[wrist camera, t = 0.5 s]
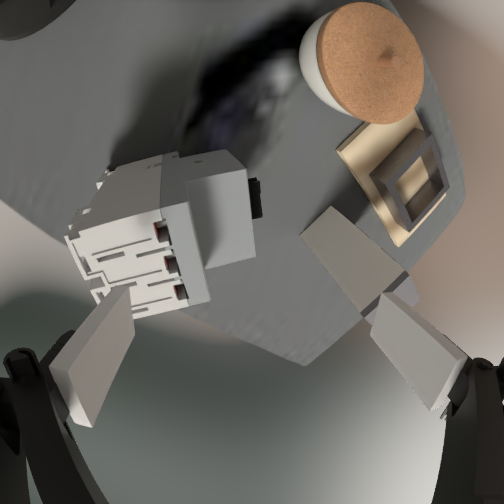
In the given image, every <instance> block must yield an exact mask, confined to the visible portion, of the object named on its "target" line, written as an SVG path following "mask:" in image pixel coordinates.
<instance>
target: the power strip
mask: <svg viewBox="0 0 504 504" xmlns="http://www.w3.org/2000/svg"><path fill="white" fill-rule="evenodd" d="M300 237H301V239H302V240H303V241H304V242H305V244H306V245H307V246H308V247H309V248H310V250H311V251H312V252H313V253H314V255H315V256H316V257H317V258H318V260H319V261H320V262H321V263H322V264H323V266H324V267H325V268H326V270H327V271H328V272H329V273H330V275H331V276H332V277H333V278H334V280H335V281H336V282H337V283H338V285H339V286H340V287H341V289H342V290H343V291H344V292H345V294H346V295H347V296H348V298H349V299H350V300H351V302H352V303H353V304H354V305H355V307H356V308H357V309H358V311H359V312H360V313H361V315H362V316H363V317H364V318H365V319H366V320H367V321H368V322H369V323H370V324H371V325H372V326H373V323H374V319H375V316H376V312H377V308H378V304H379V300H380V296H381V293H386V292H392V293H394V294H395V295H396V296H397V297H399V298H400V299H401V300H402V301H404V302H405V303H406V304H407V305H409V306H410V307H411V308H412V307H413V306H414V305H415V304H416V303H417V302H418V301H419V300H420V296H419V294H418V292H417V290H416V288H415V285H414V283H413V281H412V279H411V277H410V275H409V274H408V273H407V272H406V271H405V270H404V269H403V268H402V267H401V266H399V265H398V264H397V263H396V261H395V260H394V259H393V258H392V257H391V256H390V255H388V254H387V253H386V252H385V251H384V250H383V249H382V248H380V247H379V246H378V245H377V244H376V243H374V242H373V241H372V240H371V239H370V238H369V237H368V236H367V235H366V234H365V233H364V232H363V231H362V230H360V229H359V228H358V227H356V226H355V225H354V224H353V223H351V222H350V221H349V220H348V219H347V218H346V217H344V216H343V215H342V214H341V213H340V212H338V211H337V210H336V209H335V208H333V207H332V206H330V207H329V208H328V209H327V210H326V211H325V212H324V213H322V214H321V215H320V216H319V217H318V218H317V219H316V220H315V221H314V222H313V223H312V224H311V225H310V226H309V227H308V228H307V229H306V230H305V231H304V232H303V233H302V234H301V235H300Z"/></svg>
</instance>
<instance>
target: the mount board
mask: <svg viewBox="0 0 504 504" xmlns="http://www.w3.org/2000/svg"><path fill="white" fill-rule="evenodd" d="M414 128H418V129H421V130H423V127H422V125H421V123H420V120H419V118H418V116H417V114H416V111H415V109H413V110H412V111H411V112H410V113H409V114H408V115H407V116H406V117H404V118H403V119H401V120H399V121H398V122H395V123H392V124H385V125H382V124H374V123H370V122H364V123H363V124H362V125H361V126H360V127H359V128H358V129H357V130H356V131H355V132H354V133H353V134H352V135H351V136H350V137H349V138H348V139H346V140H345V141H344V142H343V143H342V144H341V145H340V146H339V147H338V148H337V149H336V151H337V153H338V154H339V155H340V157H341V158H342V160H343V161H344V163H345V164H346V165H347V167H348V168H349V170H350V171H351V173H352V174H353V176H354V177H355V179H356V180H357V182H358V183H359V185H360V186H361V188H362V189H363V191H364V193H365V194H366V196H367V197H368V199H369V201H370V202H371V204H372V205H373V207H374V209H375V210H376V212H377V214H378V215H379V217H380V219H381V220H382V222H383V224H384V226H385V227H386V229H387V231H388V233H389V235H390V236H391V238H392V240H393V242H394V244H395V245H397V246H398V247H400V246H401V245H402V244H403V243H404V241H405V240H406V239H407V238H408V237H409V236H410V235H411V234H412V233H413V232H414V231H415V230H416V229H417V228H418V226H419V225H420V224H421V223H422V222H423V221H424V220H425V219H426V218H427V217H428V215H429V214H430V213H431V212H432V211H433V210H434V209H435V207H436V206H437V205H438V204H439V203H440V202H441V200H442V199H443V198H444V197H445V196H446V193H444V195H443V196H442V197H441V198H440V199H439V201H438V202H437V203H436V204H435V205H434V206H433V207H432V209H431V210H430V211H429V212H428V213H427V214H426V215H425V217H424V218H423V219H422V220H421V221H420V222H419V223H418V224H417V225H416V226H415V228H414V229H413V230H412V231H411V232H410V233H408V232H407V231H406V230H405V229H403V228H402V227H401V226H399V225H398V224H397V223H395V221H394V219H393V217H392V215H391V213H390V211H389V210H388V208H387V206H386V204H385V202H384V200H383V199H382V197H381V195H380V193H379V192H378V190H377V188H376V186H375V185H374V183H373V181H372V180H371V178H370V176H369V174H370V173H371V172H372V171H373V170H374V169H375V168H376V167H377V166H378V165H379V164H380V163H381V162H382V161H383V160H384V159H385V158H386V157H387V156H388V155H389V153H390V152H391V151H392V150H393V149H394V148H395V147H396V146H397V145H398V144H399V143H400V142H401V141H402V140H403V139H404V138H405V137H406V136H407V135H408V134H409V133H410V132H411V131H412V130H413V129H414ZM428 179H429V177H428V174H427V171H426V169H425V166H424V163H423V161H422V158H421V156H420V157H419V158H418V159H417V160H416V161H415V162H414V163H413V165H412V166H411V167H410V168H409V169H408V170H407V171H406V172H405V173H404V174H403V175H402V176H401V177H400V178H399V179H398V181H397V182H396V183H395V184H394V185H395V187H396V189H397V191H398V193H399V195H400V197H401V199H402V201H403V203H404V206H405V205H406V204H407V202H408V201H409V200H410V199H411V198H412V197H413V196H414V195H415V194H416V193H417V192H418V190H419V189H420V188H421V187H422V186H423V185H424V184H425V183H426V182H427V180H428Z"/></svg>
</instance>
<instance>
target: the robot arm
mask: <svg viewBox="0 0 504 504" xmlns="http://www.w3.org/2000/svg"><path fill="white" fill-rule="evenodd" d="M74 1H75V0H0V40H7V41H11V40H17V39H21V38H24V37H27V36H29V35H31V34H33V33H35V32H37V31H39V30H40V29H42V28H44V27H45V26H47V25H48V24H49V23H51V22H52V21H54V20H55V19H56V18H57V17H59V16H60V15H61V14H62V13H63V12H64V11H65V10H66V9H67V8H68V7H69V6H70V5H71V4H72V3H73V2H74ZM134 335H135V329H134V323H133V315H132V307H131V299H130V289H129V286H119V285H115V286H114V287H113V288H112V290H111V291H110V292H109V293H108V294H107V295H106V296H105V297H104V299H103V300H102V301H101V302H100V303H99V304H98V306H97V307H96V308H95V309H94V310H93V311H92V313H91V314H90V315H89V316H88V317H87V319H86V320H85V321H84V322H83V323H82V325H81V326H80V327H79V328H78V329H77V331H74V330H70V331H68V332H66V333H65V334H63V335H62V336H61V337H60V338H59V339H58V340H57V342H56V344H54V345H53V346H52V348H51V350H49V351H48V352H47V354H46V355H45V356H44V357H43V359H42V360H41V361H40V363H39V362H38V359H37V357H36V355H35V353H34V351H33V350H31V349H29V348H18V349H15V350H12V351H11V352H9V353H8V354H7V355H6V356H5V358H4V361H3V364H4V366H5V368H6V370H7V373H8V375H9V377H10V378H2V377H0V504H30V497H29V489H28V480H27V467H26V457H27V460H28V463H29V467H30V470H31V473H32V476H33V479H34V482H35V485H36V487H37V490H38V492H39V495H40V497H41V500H42V502H43V504H109V503H108V501H107V500H106V498H105V497H104V495H103V493H102V491H101V490H100V488H99V486H98V485H97V483H96V481H95V480H94V478H93V476H92V474H91V472H90V470H89V468H88V466H87V464H86V462H85V461H84V458H83V456H82V454H81V452H80V450H79V448H78V446H77V444H76V441H75V439H74V437H73V434H72V432H71V430H70V427H69V425H68V423H67V421H66V419H67V417H68V415H69V413H70V415H71V417H72V419H73V420H74V422H75V423H77V424H80V425H84V426H87V427H91V428H92V427H93V425H94V423H95V420H96V418H97V415H98V413H99V411H100V408H101V406H102V404H103V401H104V399H105V397H106V395H107V392H108V390H109V388H110V386H111V383H112V381H113V379H114V377H115V374H116V372H117V370H118V368H119V366H120V364H121V362H122V360H123V358H124V356H125V353H126V351H127V349H128V347H129V345H130V343H131V341H132V339H133V337H134ZM370 336H371V337H372V338H373V340H374V341H375V342H376V343H377V345H378V346H379V347H380V348H381V350H382V351H383V352H384V353H385V355H386V356H387V357H388V358H389V360H390V361H391V362H392V363H393V364H394V366H395V367H396V368H397V370H398V371H399V372H400V373H401V375H402V376H403V377H404V379H405V380H406V381H407V382H408V384H409V385H410V386H411V387H412V389H413V390H414V391H415V393H416V394H417V395H418V396H419V398H420V399H421V400H422V402H423V403H424V404H425V406H426V407H427V408H428V410H429V411H431V410H433V409H436V408H438V407H441V406H442V404H443V403H444V401H445V399H446V398H447V396H448V397H449V399H450V400H451V401H450V402H449V404H448V406H447V407H446V409H445V410H444V412H443V414H442V415H441V417H440V419H442V418H443V417H444V415H446V414H447V417H446V418H445V420H446V430H445V438H444V446H443V452H442V459H441V464H440V470H439V474H438V480H437V484H436V488H435V492H434V496H433V500H432V503H431V504H504V405H503V403H502V401H503V400H504V358H503V359H502V361H501V363H500V365H499V366H493V364H492V363H491V362H490V361H488V360H486V359H484V358H474V359H473V360H472V359H471V358H470V357H469V356H468V355H467V354H466V353H465V352H463V351H462V350H461V349H460V348H459V347H458V346H456V345H455V344H454V343H453V342H452V341H451V340H450V339H449V338H448V337H446V336H445V335H444V334H442V333H441V332H440V331H438V330H437V329H436V328H435V327H434V326H433V325H431V324H430V323H429V322H428V321H427V320H425V319H424V318H423V317H422V316H420V314H418V313H417V312H416V311H415V310H413V309H412V308H411V307H410V306H409V305H407V304H406V303H405V302H404V301H402V300H401V299H400V298H399V297H397V296H396V295H395V294H394V293H392V292H386V293H381V296H380V300H379V304H378V308H377V312H376V316H375V319H374V323H373V326H372V330H371V333H370Z"/></svg>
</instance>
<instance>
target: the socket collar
mask: <svg viewBox="0 0 504 504" xmlns="http://www.w3.org/2000/svg"><path fill="white" fill-rule="evenodd" d="M420 156H421V158H422V161H423V163H424V166H425V169H426V171H427V174H428V177H429V179H428V180H427V182H426V183H425V184H424V185H423V186H422V187H421V188H420V189H419V190H418V192H417V193H416V194H415V195H414V196H413V197H412V198H411V199H410V200H409V201H408V202H407V204H406V205H405V206H404V203H403V201H402V199H401V197H400V195H399V193H398V191H397V189H396V187H395V185H394V184H395V183H396V182H397V181H398V179H399V178H400V177H401V176H402V175H403V174H404V173H405V172H406V171H407V170H408V169H409V168H410V167H411V166H412V165H413V163H414V162H415V161H416V160H417V159H418V158H419V157H420ZM369 176H370V178H371V180H372V181H373V183H374V185H375V186H376V188H377V190H378V192H379V193H380V195H381V197H382V199H383V200H384V202H385V204H386V206H387V208H388V210H389V211H390V213H391V215H392V217H393V219H394V221H395V223H397V224H398V225H399V226H401V227H402V228H403V229H405V230H406V231H407V232H408V233H410V232H411V231H412V230H413V229H414V228H415V226H416V225H417V224H418V223H419V222H420V221H421V220H422V219H423V218H424V217H425V215H426V214H427V213H428V212H429V211H430V210H431V209H432V207H433V206H434V205H435V204H436V203H437V202H438V201H439V199H440V198H441V197H442V196H443V195H444V193H445V192H446V191H447V190H448V189H449V183H448V179H447V176H446V172H445V169H444V166H443V163H442V160H441V157H440V154H439V151H438V148H437V145H436V142H435V139H434V137H433V134H432V133H430V132H427V131H424V130H421V129H418V128H414V129H413V130H412V131H411V132H410V133H409V134H408V135H407V136H406V137H405V138H404V139H403V140H402V141H401V142H400V143H399V144H398V145H397V146H396V147H395V148H394V149H393V150H392V151H391V152H390V153H389V155H388V156H387V157H386V158H385V159H384V160H383V161H382V162H381V163H380V164H379V165H378V166H377V167H376V168H375V169H374V170H373V171H372V172H371V173H370V174H369Z"/></svg>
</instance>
